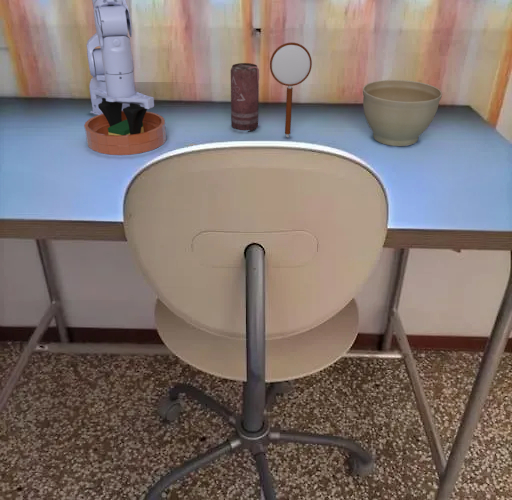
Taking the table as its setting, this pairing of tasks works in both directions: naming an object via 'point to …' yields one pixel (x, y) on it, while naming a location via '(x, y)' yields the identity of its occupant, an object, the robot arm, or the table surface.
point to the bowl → (125, 136)
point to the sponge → (121, 128)
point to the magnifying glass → (290, 71)
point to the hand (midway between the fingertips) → (126, 136)
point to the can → (244, 96)
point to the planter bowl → (399, 110)
